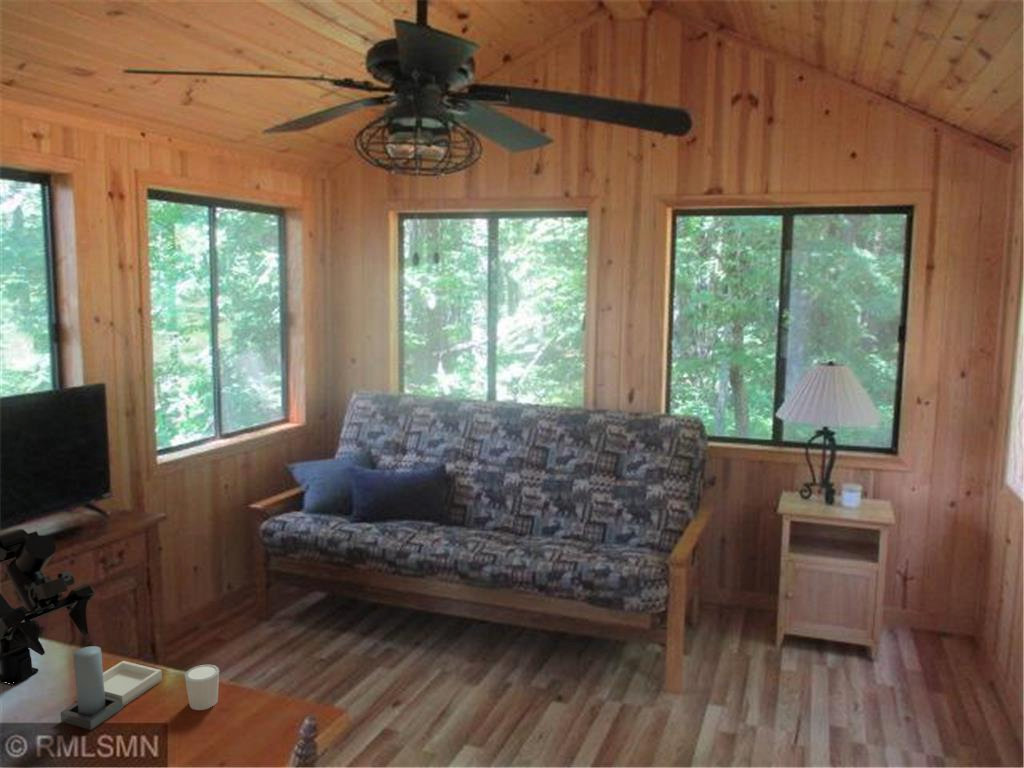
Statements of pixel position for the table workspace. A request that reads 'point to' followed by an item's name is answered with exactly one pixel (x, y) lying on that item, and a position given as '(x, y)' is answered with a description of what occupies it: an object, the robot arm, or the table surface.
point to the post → (89, 680)
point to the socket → (90, 723)
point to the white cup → (202, 686)
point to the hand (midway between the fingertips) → (65, 644)
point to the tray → (129, 680)
